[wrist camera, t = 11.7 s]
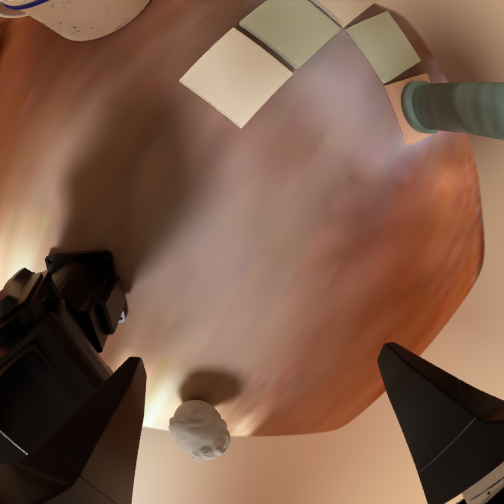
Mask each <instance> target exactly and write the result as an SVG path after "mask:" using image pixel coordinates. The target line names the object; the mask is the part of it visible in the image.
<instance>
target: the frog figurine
mask: <svg viewBox="0 0 504 504" xmlns="http://www.w3.org/2000/svg"><path fill="white" fill-rule="evenodd" d="M226 428H227V424H226V422H225V421H224V420H223V419H221V416H220V414H219V413H218V411H217V410H216V409H215V408H214V407H213V406H212V405H210V404H209V403H207V402H205V401H202V400H189V401H186V402H184V403H183V404H181V405H180V406H179V407H178V408H177V410H176V412H175V414H174V417H172V418H170V425H169V430H170V431H171V434H172V436H173V438H175V441H176V443H177V444H178V445H179V446H180V447H181V448H182V449H184V450H185V451H187V452H188V453H189V454H190V455H192V456H193V459H195V460H197V461H206V460H212V459H215V458H217V457H219V456H220V455H223V454H224V453H226V451H227V449H228V447H229V444H230V434H229V432H228V430H227V429H226Z"/></svg>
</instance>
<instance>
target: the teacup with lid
mask: <svg viewBox="0 0 504 504" xmlns="http://www.w3.org/2000/svg"><path fill="white" fill-rule="evenodd" d="M149 1H150V0H0V16H1V17H6V18H18V17H24V16H28V15H29V16H31V17H33V18H34V19H36V20H38V21H39V22H41V23H43V24H44V25H46V26H47V27H49V28H51V29H52V30H54V31H55V32H57V33H58V34H60V35H61V36H63V37H65V38H67V39H69V40H73V41H87V40H93V39H97V38H100V37H103V36H106V35H108V34H110V33H112V32H114V31H116V30H118V29H120V28H121V27H123V26H124V25H126V24H127V23H129V22H130V21H131V20H133V19H134V18H135V17H136V16H137V15H138V14H139V13H140V12H141V11H142V10H143V9H144V8H145V7H146V6H147V4H148V3H149Z"/></svg>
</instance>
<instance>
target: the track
mask: <svg viewBox="0 0 504 504" xmlns="http://www.w3.org/2000/svg"><path fill="white" fill-rule="evenodd" d="M311 1H312V2H314V3H315V4H316V5H317V6H319V7H320V8H321V9H322V10H323V11H325V12H326V13H327V14H328V15H329V16H330V17H332V18H333V19H334V20H335V21H336V22H337V23H338V24H339V25H341V26H342V27H345V26H346V25H347V24H348V23H350V22H351V21H352V20H353V19H355V18H356V17H357V16H358V15H359V14H361V13H362V12H363V11H365V10H366V9H367V8H368V7H370V6H371V5H372V4H374V3H375V2H376V1H377V0H311ZM239 25H240V26H241V27H243V28H244V29H246V30H247V31H249V32H250V33H251V34H253V35H254V36H255V37H257V38H258V39H259V40H261V41H262V42H263V43H265V44H266V45H267V46H269V47H270V48H271V49H272V50H274V51H275V52H276V53H277V54H279V55H280V56H281V57H282V58H284V59H285V60H286V61H287V62H288V63H289V64H291V65H292V66H293V67H294V68H295V69H296V70H297V69H298V68H300V67H301V66H302V65H303V64H304V63H305V62H306V61H307V60H308V59H309V58H310V57H311V56H312V55H313V54H314V53H315V52H317V51H318V50H319V49H320V48H321V47H322V46H323V45H324V44H325V43H326V42H328V41H329V40H330V39H331V38H332V37H333V36H334V35H336V34H337V33H338V32H339V31H340V30H341V28H339V27H338V26H337V25H336V24H335V23H334V22H333V21H332V20H331V19H329V18H328V17H327V16H326V15H325V14H324V13H322V12H321V11H320V10H319V9H318V8H316V7H315V6H314V5H313V4H311V3H310V2H309V1H308V0H267V1H265V2H264V3H263V4H261V5H260V6H259V7H257V8H256V9H255V10H254V11H252V12H251V13H250V14H249V15H247V16H246V17H245V18H244V19H242V20H241V21H240V23H239ZM345 31H346V32H347V33H348V34H349V36H350V37H351V38H352V40H353V41H354V42H355V43H356V45H357V46H358V48H359V49H360V50H361V52H362V53H363V54H364V56H365V57H366V59H367V60H368V62H369V63H370V64H371V66H372V67H373V69H374V70H375V72H376V73H377V75H378V77H379V78H380V80H381V81H382V83H387V82H389V81H390V80H392V79H393V78H395V77H396V76H398V75H399V74H401V73H403V72H404V71H406V70H407V69H409V68H410V67H412V66H414V65H415V64H417V63H419V62H420V61H421V60H420V58H419V57H418V55H417V53H416V52H415V50H414V49H413V47H412V45H411V44H410V42H409V41H408V39H407V38H406V36H405V35H404V33H403V32H402V30H401V29H400V27H399V26H398V25H397V23H396V22H395V21H394V19H393V18H392V16H391V15H390V14H389V13H388V11H386V12H383V13H381V14H378V15H376V16H373V17H371V18H369V19H366V20H364V21H362V22H359V23H357V24H355V25H353V26H350V27H348V28H347V29H345ZM292 75H293V73H292V72H291V71H290V70H288V69H287V68H286V67H285V66H284V65H282V64H281V63H280V62H279V61H278V60H276V59H275V58H274V57H273V56H271V55H270V54H269V53H268V52H266V51H265V50H264V49H263V48H261V47H260V46H259V45H257V44H256V43H255V42H253V41H252V40H251V39H249V38H248V37H247V36H245V35H244V34H242V33H241V32H239V31H238V30H237V29H235V28H234V27H233V28H232V29H231V30H230V31H229V32H227V33H226V34H225V35H224V36H223V37H222V38H221V39H220V40H219V41H217V42H216V43H215V44H214V45H213V46H212V47H211V48H210V49H209V50H208V51H207V52H206V53H205V54H204V55H203V56H202V57H201V58H200V59H199V60H198V61H197V62H196V63H195V64H194V65H193V66H192V67H191V68H190V69H189V70H188V71H187V72H186V74H185V75H184V76H183V77H182V78H181V79H180V80H179V81H180V83H182V84H183V85H184V86H186V87H187V88H189V89H190V90H191V91H193V92H194V93H196V94H197V95H198V96H200V97H201V98H202V99H204V100H205V101H206V102H208V103H209V104H210V105H212V106H213V107H214V108H216V109H217V110H218V111H220V112H221V113H222V114H223V115H225V116H226V117H227V118H229V119H230V120H231V121H232V122H234V123H235V124H236V125H237V126H239V127H240V128H242V127H243V126H244V125H245V124H246V123H247V122H248V121H249V120H250V119H251V117H252V116H253V115H254V114H255V113H256V112H257V111H258V110H259V109H260V108H261V107H262V105H263V104H264V103H265V102H266V101H267V100H268V99H269V98H270V97H271V96H272V95H273V94H274V93H275V92H276V91H277V90H278V89H279V88H280V87H281V86H282V85H283V84H284V83H285V82H286V81H287V80H288V78H290V77H291V76H292ZM421 80H423V81H427V82H429V83H431V82H430V79H429V77H428V74H427V73H426V74H421V75H417V76H414V77H410V78H407V79H404V80H401V81H397V82H394V83H391V84H388V85H385V86H384V87H385V89H386V91H387V94H388V96H389V98H390V101H391V103H392V106H393V108H394V111H395V114H396V116H397V119H398V122H399V124H400V127H401V130H402V133H403V136H404V139H405V142H406V145H412V144H414V143H416V142H418V141H420V140H422V139H424V138H426V137H428V136H430V135H432V134H427V133H420V132H417V131H415V130H414V129H413V128H412V127H411V126H410V125H409V124H408V122H407V121H406V119H405V117H404V114H403V111H402V106H401V95H402V91H403V89H404V87H405V86H406V85H407V84H408V83H410V82H412V81H421ZM439 131H440V130H439Z"/></svg>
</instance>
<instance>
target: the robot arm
mask: <svg viewBox="0 0 504 504" xmlns="http://www.w3.org/2000/svg"><path fill="white" fill-rule="evenodd" d="M104 255H107V256H108V259H106V258H105V257H104ZM49 259H51V261H52V262H50V260H49ZM45 263H46V267H47V270H46V271H43V272H39V273H36V274H35V273H34V272H31V271H29V270H28V269H26V268H23V269H21V270H19V271H18V272H17V273H16V274H15V275H14V276H13V277H11V278H10V279H9V280H8V282H7V283H6V284H5V286H4V288H3V289H2V290H1V291H0V504H131V503H132V492H133V484H134V476H135V469H136V461H137V455H138V448H139V441H140V436H141V430H142V424H143V418H144V407H145V392H146V379H147V376H146V371H145V368H144V364H143V361H142V359H141V358H140V357H129V358H128V359H127V360H126V361H125V362H124V363H123V364H122V365H121V366H120V367H119V368H118V369H117V370H116V371H115V372H114V373H113V371H112V370H111V369H110V367H109V366H107V365H106V364H105V362H104V361H103V360H102V358H101V357H100V356H99V354H98V353H101V352H102V351H103V348H104V346H105V343H106V340H107V338H108V335H113V334H114V332H115V330H116V328H117V325H118V323H122V322H124V321H125V319H126V313H125V309H124V307H125V304H126V302H125V298H124V294H123V290H122V285H121V281H120V277H119V276H118V275H116V270H115V265H114V260H113V255H112V253H111V252H110V251H108V250H99V251H85V252H70V253H57V254H49V255H48V256H47V257H46V258H45ZM121 316H122V318H120V317H121ZM377 362H378V366H379V369H380V372H381V376H382V379H383V382H384V385H385V389H386V392H387V394H388V397H389V400H390V402H391V404H392V407H393V409H394V411H395V414H396V416H397V419H398V421H399V424H400V426H401V429H402V431H403V433H404V436H405V439H406V442H407V444H408V447H409V450H410V452H411V455H412V458H413V461H414V463H415V466H416V469H417V472H418V475H419V478H420V481H421V484H422V487H423V490H424V493H425V497H426V500H427V503H428V504H445V503H446V502H448V501H450V500H451V499H453V498H455V497H456V496H458V495H459V494H461V493H462V495H463V497H464V498H463V499H462V500H461V501H459V502H458V503H456V504H504V400H501V399H499V398H497V397H494V396H492V395H490V394H488V393H485V392H483V391H481V390H478V389H477V388H475V387H473V386H471V385H469V384H467V383H465V382H463V381H462V380H459V379H458V378H456V377H454V376H453V375H451V374H449V373H447V372H445V371H444V370H442V369H440V368H439V367H437V366H435V365H433V364H432V363H430V362H428V361H426V360H425V359H422V358H421V357H419V356H417V355H416V354H414V353H412V352H410V351H409V350H407V349H405V348H403V347H402V346H400V345H398V344H396V343H395V342H390V343H385V344H384V345H383V347H382V349H381V352H380V354H379V356H378V360H377Z"/></svg>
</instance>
